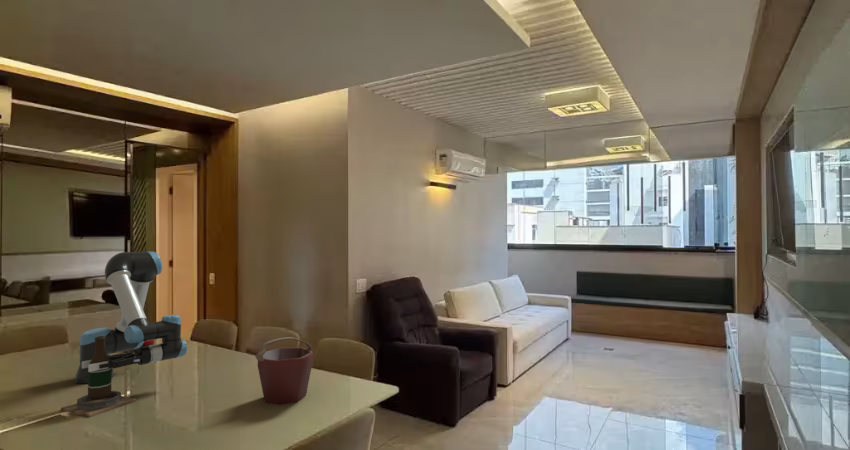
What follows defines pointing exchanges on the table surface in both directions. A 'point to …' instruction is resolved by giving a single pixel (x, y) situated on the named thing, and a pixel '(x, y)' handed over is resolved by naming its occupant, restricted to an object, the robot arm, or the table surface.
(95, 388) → the beer bottle
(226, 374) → the table surface
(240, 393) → the table surface
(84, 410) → the collar stand
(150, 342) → the fruit
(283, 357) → the bucket
